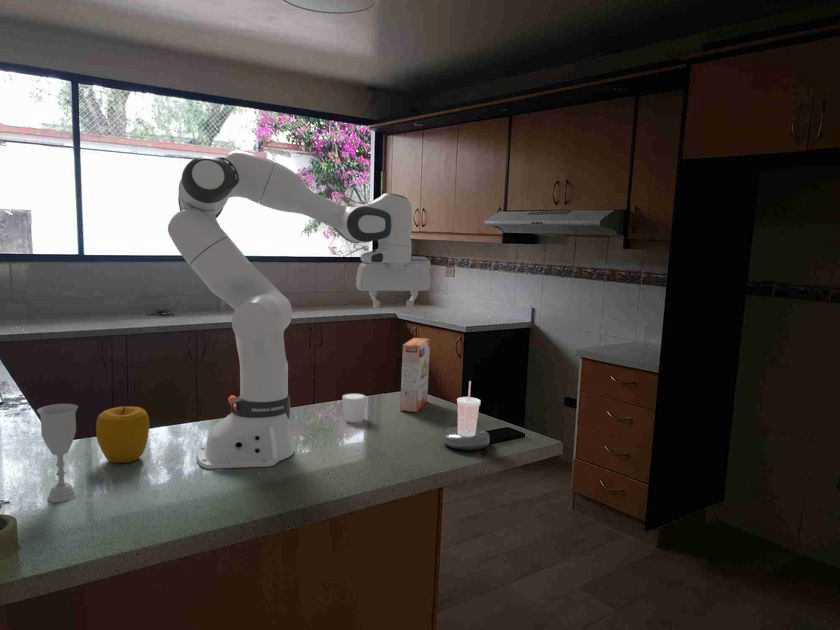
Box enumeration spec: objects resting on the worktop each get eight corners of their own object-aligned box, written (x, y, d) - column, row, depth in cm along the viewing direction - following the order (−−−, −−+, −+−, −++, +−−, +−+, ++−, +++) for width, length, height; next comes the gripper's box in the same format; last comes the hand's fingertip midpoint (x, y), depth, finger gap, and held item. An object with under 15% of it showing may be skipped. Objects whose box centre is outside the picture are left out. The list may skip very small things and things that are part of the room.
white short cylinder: (364, 423, 174) (364, 399, 173) (340, 422, 174) (340, 398, 173) (366, 416, 181) (367, 393, 180) (343, 415, 181) (344, 392, 180)
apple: (98, 473, 133) (96, 416, 132) (96, 456, 143) (93, 403, 141) (153, 464, 139) (151, 410, 137) (147, 449, 148) (145, 398, 146)
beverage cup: (481, 432, 160) (484, 380, 158) (474, 439, 154) (478, 385, 152) (458, 428, 162) (462, 377, 160) (451, 435, 157) (455, 382, 154)
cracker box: (418, 413, 185) (420, 345, 182) (399, 411, 187) (401, 344, 184) (428, 401, 199) (430, 338, 196) (410, 399, 200) (412, 336, 197)
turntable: (454, 455, 151) (455, 443, 151) (435, 439, 162) (435, 428, 162) (497, 450, 155) (497, 439, 155) (476, 435, 166) (476, 424, 166)
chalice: (87, 497, 122) (83, 409, 119) (49, 507, 116) (44, 416, 114) (73, 486, 126) (70, 401, 124) (36, 495, 121) (31, 408, 119)
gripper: (426, 256, 169) (424, 305, 171) (354, 254, 162) (354, 306, 163) (435, 257, 163) (433, 308, 165) (361, 256, 156) (360, 309, 158)
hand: (393, 307), depth 164 cm, fingers open, 8 cm apart
